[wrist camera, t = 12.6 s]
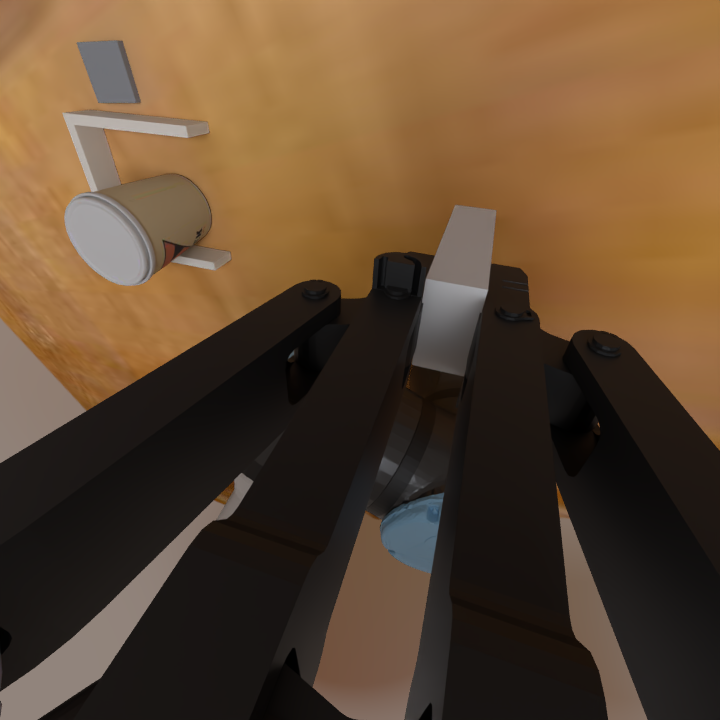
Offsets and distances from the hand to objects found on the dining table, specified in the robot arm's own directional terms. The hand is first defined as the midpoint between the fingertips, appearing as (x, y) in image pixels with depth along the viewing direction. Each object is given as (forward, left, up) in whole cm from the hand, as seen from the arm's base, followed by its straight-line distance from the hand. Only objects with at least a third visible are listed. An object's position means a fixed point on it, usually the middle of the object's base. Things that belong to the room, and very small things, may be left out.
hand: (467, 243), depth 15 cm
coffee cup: (-10, +34, -25) cm, 43 cm away
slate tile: (+3, +39, -25) cm, 46 cm away
